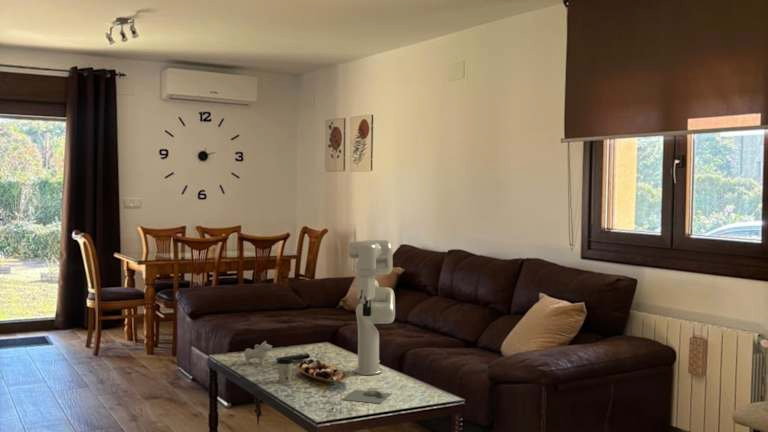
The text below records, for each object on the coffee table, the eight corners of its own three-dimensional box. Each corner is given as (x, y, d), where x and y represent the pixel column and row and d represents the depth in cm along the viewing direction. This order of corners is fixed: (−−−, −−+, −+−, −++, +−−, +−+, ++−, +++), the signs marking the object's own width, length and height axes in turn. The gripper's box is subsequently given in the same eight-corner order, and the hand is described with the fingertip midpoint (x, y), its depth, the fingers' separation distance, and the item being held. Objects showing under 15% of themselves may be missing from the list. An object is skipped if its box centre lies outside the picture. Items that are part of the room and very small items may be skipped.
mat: (354, 390, 314) (354, 389, 314) (391, 394, 309) (391, 393, 309) (341, 399, 301) (341, 399, 301) (380, 404, 296) (380, 403, 296)
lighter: (367, 392, 311) (367, 398, 303) (367, 388, 311) (367, 393, 303) (384, 392, 311) (384, 398, 303) (384, 388, 311) (384, 393, 303)
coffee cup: (290, 384, 324) (290, 360, 323) (274, 383, 325) (274, 360, 324) (295, 379, 330) (295, 357, 330) (280, 379, 332) (280, 356, 331)
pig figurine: (272, 365, 356) (271, 342, 355) (244, 365, 354) (244, 343, 354) (272, 362, 361) (272, 340, 361) (244, 363, 360) (244, 340, 359)
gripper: (365, 270, 331) (364, 312, 332) (352, 274, 317) (352, 318, 318) (381, 271, 328) (381, 313, 329) (369, 275, 314) (369, 319, 315)
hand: (367, 315), depth 323 cm, fingers closed
